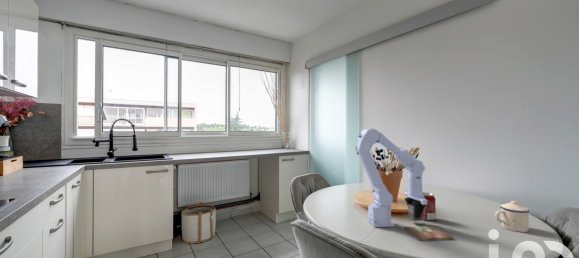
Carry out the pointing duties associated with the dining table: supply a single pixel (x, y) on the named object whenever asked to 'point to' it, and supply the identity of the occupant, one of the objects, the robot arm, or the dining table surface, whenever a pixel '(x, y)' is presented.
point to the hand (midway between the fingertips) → (415, 215)
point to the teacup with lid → (514, 217)
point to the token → (412, 213)
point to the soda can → (429, 207)
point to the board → (428, 233)
